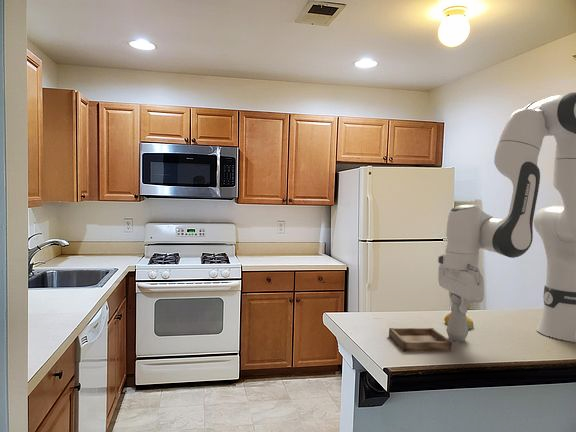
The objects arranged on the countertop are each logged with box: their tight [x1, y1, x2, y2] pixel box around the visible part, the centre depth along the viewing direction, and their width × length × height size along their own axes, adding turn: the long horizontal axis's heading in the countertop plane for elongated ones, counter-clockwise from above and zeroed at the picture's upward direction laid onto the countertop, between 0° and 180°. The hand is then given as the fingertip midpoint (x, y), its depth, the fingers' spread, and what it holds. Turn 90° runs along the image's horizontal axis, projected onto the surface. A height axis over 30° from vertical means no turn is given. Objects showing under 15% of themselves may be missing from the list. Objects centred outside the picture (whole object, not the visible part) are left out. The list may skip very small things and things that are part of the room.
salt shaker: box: [446, 294, 469, 343], centre depth 130 cm, size 6×6×13 cm
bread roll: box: [443, 312, 474, 330], centre depth 144 cm, size 8×9×4 cm
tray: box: [388, 327, 453, 352], centre depth 126 cm, size 13×12×2 cm
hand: (458, 309), depth 130 cm, fingers open, 4 cm apart
